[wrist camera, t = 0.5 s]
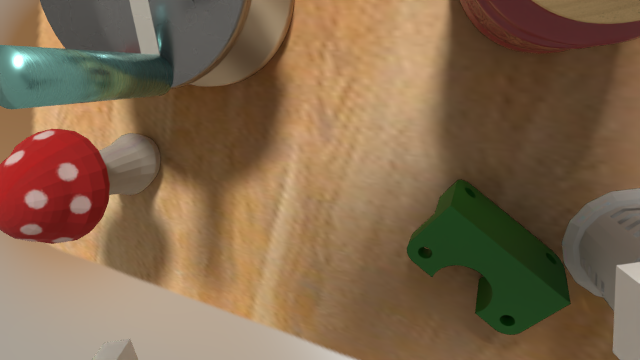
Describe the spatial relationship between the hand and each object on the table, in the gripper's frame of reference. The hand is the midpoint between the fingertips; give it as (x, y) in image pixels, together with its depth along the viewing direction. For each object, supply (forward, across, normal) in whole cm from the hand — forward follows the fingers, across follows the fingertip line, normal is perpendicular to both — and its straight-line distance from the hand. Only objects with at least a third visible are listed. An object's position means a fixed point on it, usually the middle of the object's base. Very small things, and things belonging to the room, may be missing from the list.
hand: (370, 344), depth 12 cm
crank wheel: (+28, -10, +14) cm, 33 cm away
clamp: (+24, +10, -11) cm, 29 cm away
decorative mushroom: (+32, -21, 0) cm, 38 cm away
